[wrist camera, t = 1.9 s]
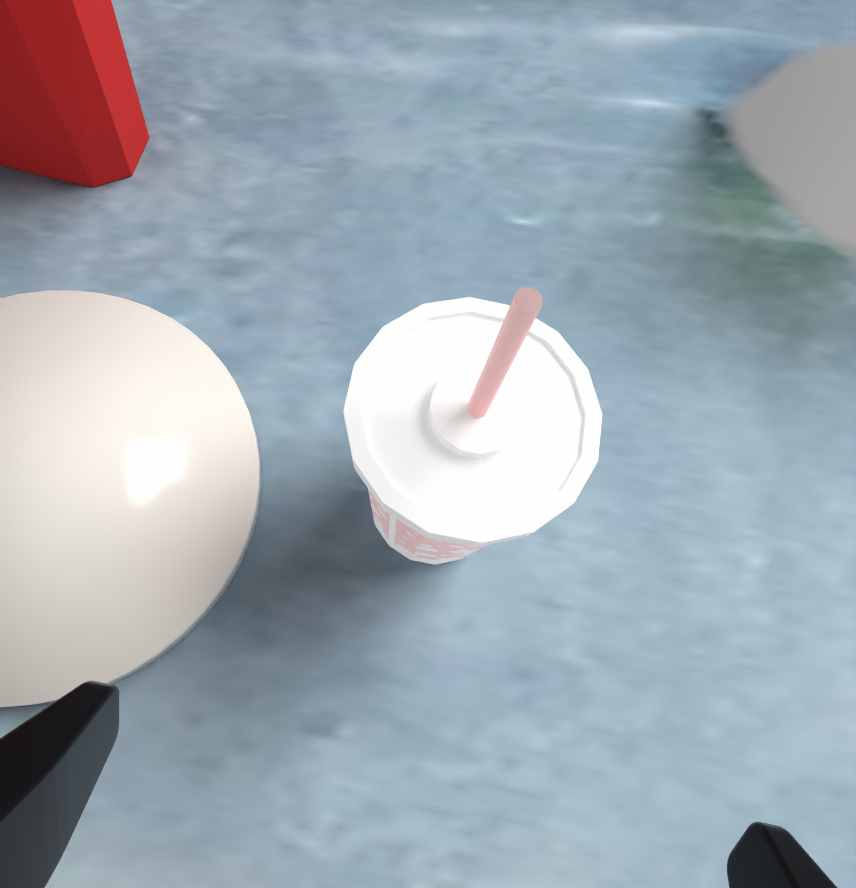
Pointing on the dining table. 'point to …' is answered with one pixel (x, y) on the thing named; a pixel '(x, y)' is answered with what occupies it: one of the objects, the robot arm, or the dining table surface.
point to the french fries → (67, 92)
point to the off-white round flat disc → (112, 489)
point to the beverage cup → (470, 425)
